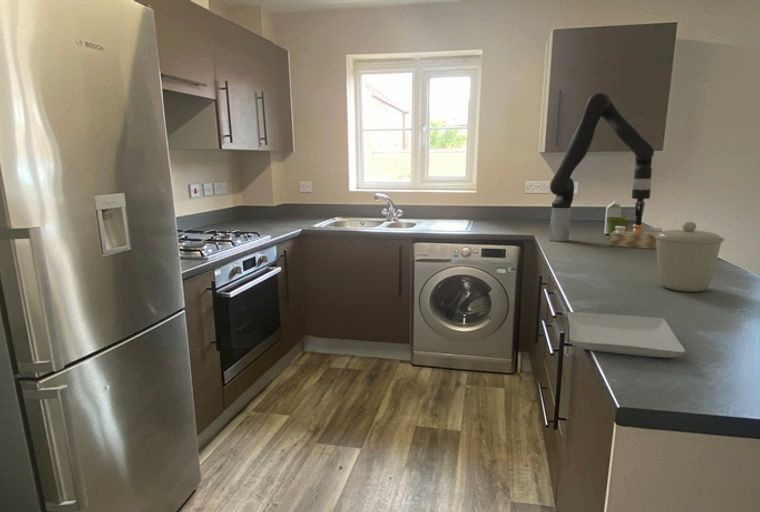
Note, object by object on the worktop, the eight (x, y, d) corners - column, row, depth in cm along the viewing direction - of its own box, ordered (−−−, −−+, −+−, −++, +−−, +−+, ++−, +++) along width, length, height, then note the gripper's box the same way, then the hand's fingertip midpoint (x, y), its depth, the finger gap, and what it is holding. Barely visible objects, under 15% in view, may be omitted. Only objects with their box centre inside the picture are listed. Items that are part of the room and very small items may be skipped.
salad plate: (568, 354, 97) (569, 338, 96) (566, 322, 116) (567, 309, 115) (686, 367, 89) (688, 351, 89) (662, 331, 109) (664, 317, 108)
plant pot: (603, 240, 239) (605, 218, 237) (604, 237, 250) (606, 216, 248) (629, 241, 234) (631, 219, 232) (629, 238, 244) (631, 217, 242)
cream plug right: (648, 245, 216) (650, 228, 215) (649, 244, 220) (650, 227, 218) (659, 246, 214) (661, 229, 212) (660, 245, 217) (662, 228, 216)
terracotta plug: (630, 242, 220) (632, 225, 219) (631, 240, 224) (633, 224, 222) (641, 242, 218) (643, 225, 216) (642, 241, 221) (644, 224, 220)
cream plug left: (613, 243, 225) (614, 226, 223) (614, 242, 228) (616, 225, 227) (623, 244, 222) (625, 227, 221) (625, 242, 226) (626, 226, 224)
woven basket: (609, 245, 223) (610, 233, 222) (612, 242, 231) (613, 231, 230) (662, 249, 211) (663, 236, 210) (663, 246, 219) (664, 233, 218)
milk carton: (605, 235, 257) (607, 201, 254) (604, 233, 264) (606, 200, 260) (619, 235, 255) (622, 201, 251) (618, 233, 261) (620, 200, 258)
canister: (720, 299, 133) (729, 226, 129) (648, 291, 142) (654, 223, 138) (715, 285, 148) (723, 220, 144) (650, 279, 157) (656, 217, 153)
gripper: (634, 187, 223) (631, 223, 227) (630, 189, 213) (627, 226, 216) (651, 187, 219) (648, 223, 222) (649, 189, 209) (645, 226, 212)
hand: (638, 224), depth 219 cm, fingers closed
